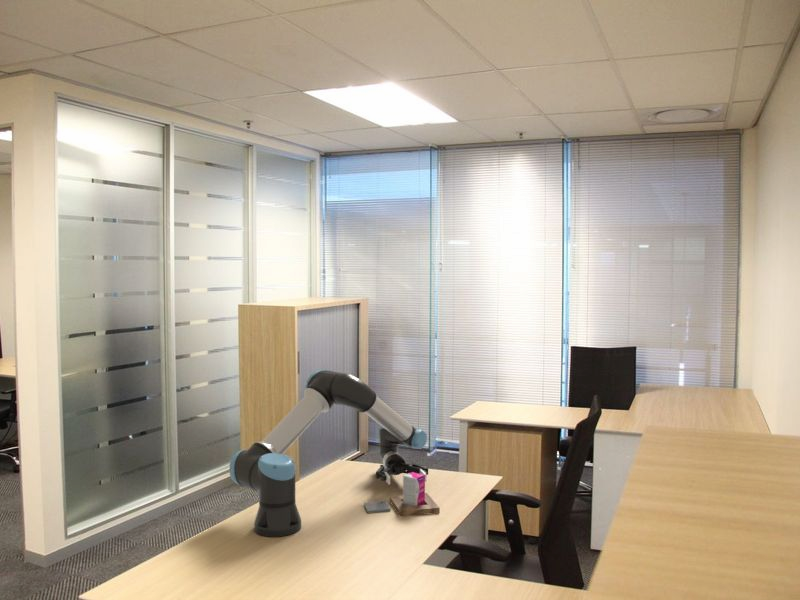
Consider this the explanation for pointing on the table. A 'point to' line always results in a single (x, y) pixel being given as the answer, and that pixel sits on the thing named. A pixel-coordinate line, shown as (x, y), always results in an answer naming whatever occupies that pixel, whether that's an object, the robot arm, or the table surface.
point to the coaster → (376, 506)
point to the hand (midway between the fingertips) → (407, 479)
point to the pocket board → (414, 510)
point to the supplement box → (413, 489)
